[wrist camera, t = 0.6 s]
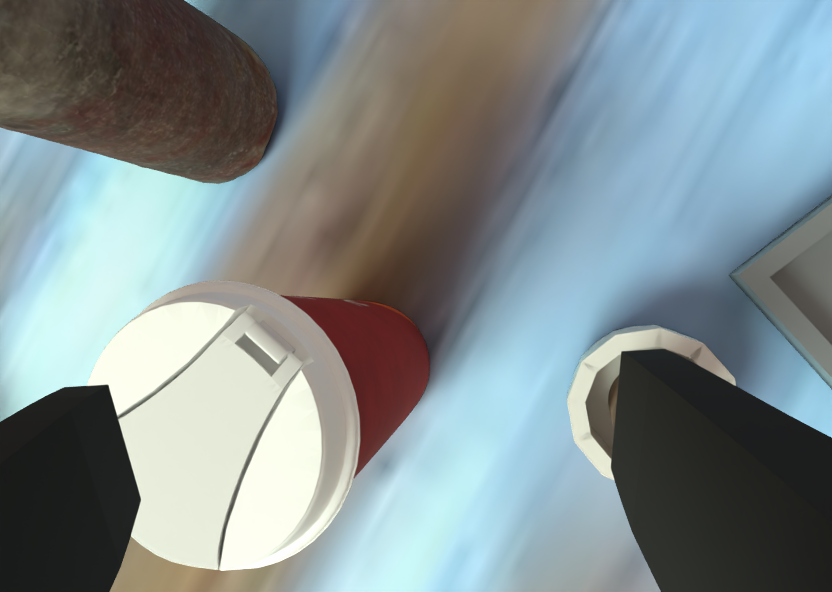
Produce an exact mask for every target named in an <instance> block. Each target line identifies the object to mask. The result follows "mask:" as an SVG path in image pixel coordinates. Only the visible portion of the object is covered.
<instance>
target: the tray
mask: <svg viewBox="0 0 832 592" xmlns="http://www.w3.org/2000/svg"><path fill="white" fill-rule="evenodd" d="M729 276H730V277H731V278H732V279H733V281H734V282H735V283H736V284H737V285H738V286H739V287H740V288H741V289H742V290H743V292H744V293H745V294H746V295H747V296H748V297H749V298H750V299H751V300H752V302H753V303H754V304H755V305H756V306H757V307H758V308H759V309H760V310H761V311H762V313H763V314H764V315H765V316H766V317H767V318H768V319H769V320H770V321H771V323H772V324H773V325H774V326H775V327H776V328H777V329H778V330H779V331H780V332H781V334H782V335H783V336H784V337H785V338H786V339H787V340H788V341H789V342H790V344H791V345H792V346H793V347H794V348H795V349H796V350H797V351H798V352H799V353H800V355H801V356H802V357H803V358H804V359H805V360H806V361H807V362H808V363H809V365H810V366H811V367H812V368H813V369H814V370H815V371H816V372H817V373H818V374H819V376H820V377H821V378H822V379H823V380H824V381H825V382H826V383H827V384H828V386H829V387H830V388H831V389H832V195H831V196H830V197H829V198H827V199H826V200H825V201H824V202H822V203H821V204H820V205H818V206H817V207H816V208H815V209H813V210H812V211H811V212H809V213H808V214H807V215H805V216H804V217H803V218H802V219H800V220H799V221H798V222H796V223H795V224H794V225H792V226H791V227H790V228H789V229H787V230H786V231H785V232H783V233H782V234H781V235H780V236H778V237H777V238H776V239H774V240H773V241H772V242H770V243H769V244H768V245H767V246H765V247H764V248H763V249H761V250H760V251H759V252H757V253H756V254H755V255H754V256H752V257H751V258H750V259H748V260H747V261H746V262H745V263H743V264H742V265H741V266H739V267H738V268H737V269H735V270H734V271H733V272H732V273H730V274H729Z"/></svg>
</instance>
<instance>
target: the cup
mask: <svg viewBox="0 0 832 592" xmlns="http://www.w3.org/2000/svg"><path fill="white" fill-rule="evenodd" d="M650 349H666V350H669V351H671V352H673V353H675V354H678V355H680V356H682V357H684V358H686V359H687V360H689V361H691V362H693V363H695V364H697V365H699V366H701V367H702V368H704V369H706V370H708V371H710V372H712V373H713V374H715V375H717V376H719V377H721V378H722V379H724V380H726V381H728V382H729V383H731V384H733V385H735V386H736V383H735V378H734V377H733V376H732V375H731V374H730V372H729V371H728V370H727V369H726V368H725V367H724V366H723V365H722V363H721V362H720V361H719V360H718V359H717V358H716V357H715V355H714V354H713V353H712V352H711V351H710V350H709V349H708V348H707V346H706V345H705V344H704V343H702V342H700V341H698V340H696V339H694V338H691V337H689V336H686V335H683V334H680V333H678V332H676V331H673V330H670V329H667V328H663V327H661V326H658V325H655V324H654V325H648V326H647V325H641V326H631V327H627V328H622V329H620V330H615V331H612V332H611V333H610V334H608V335H606V336H604V337H603V338H601V339H600V340H598V341H597V342H596V343H595V344H594V345H592V346H591V347H590V348H589V349H588V351H587V352H586V353H584V354H583V355H582V356H581V359H580V361H579V363H578V365H577V368H576V370H575V372H574V376H573V379H572V382H571V385H570V387H569V390H568V395H567V404H568V409H569V415H570V420H571V426H572V432H573V437H574V442H575V443H576V444H577V445H578V447H579V448H580V449H581V450H582V451H583V453H584V454H585V455H586V456H587V458H588V459H589V460H590V461H591V462H592V464H593V465H594V466H595V467H596V468H597V470H598V471H599V472H600V473H601V474H602V475H603V476H605V477H608V478H610V479H612V480H614V477H613V474H612V471H611V459H612V448H613V437H614V429H613V424H612V420H611V415H610V410H609V405H608V395H609V391H610V387H611V385H612V383H613V382H614V380H615V379H616V378H617V376H618V375H619V371H620V360H621V351H635V350H650Z"/></svg>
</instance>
